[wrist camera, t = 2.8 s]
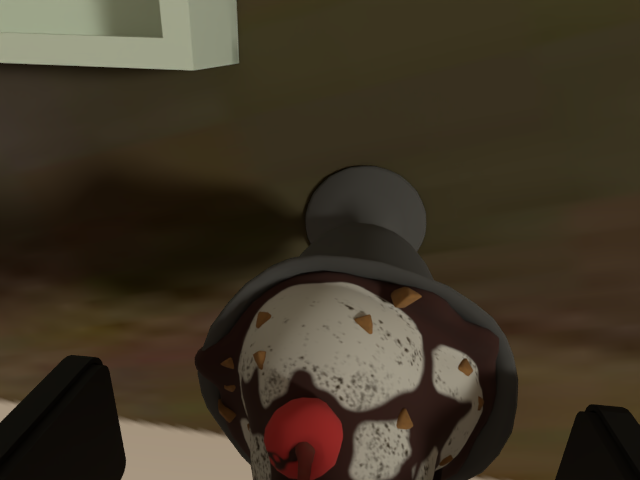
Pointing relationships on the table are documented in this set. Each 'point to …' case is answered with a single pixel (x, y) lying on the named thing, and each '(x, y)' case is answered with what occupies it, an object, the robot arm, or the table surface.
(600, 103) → the table surface
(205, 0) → the box
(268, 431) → the sundae
